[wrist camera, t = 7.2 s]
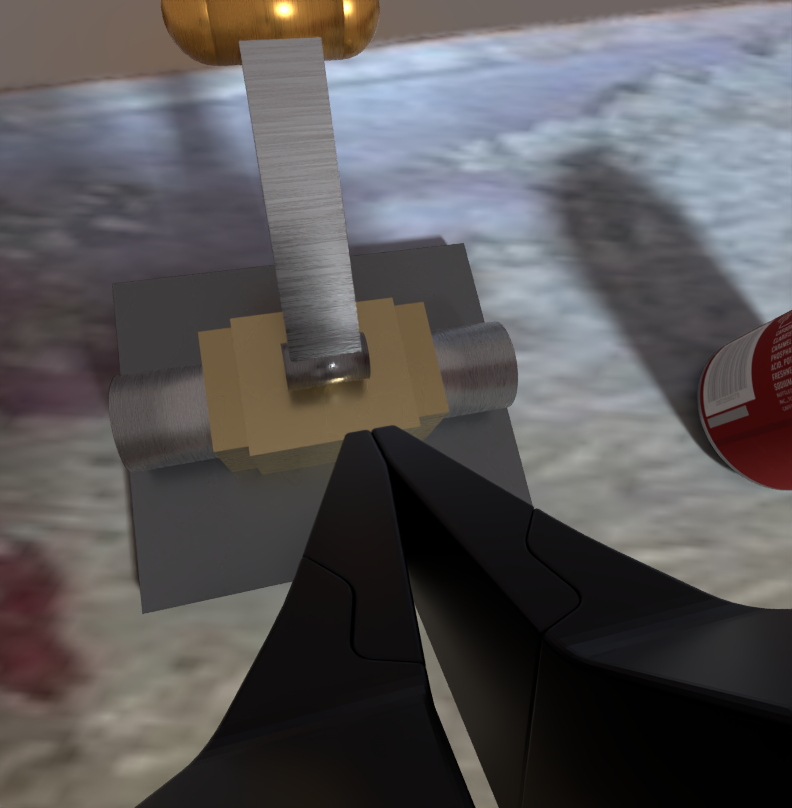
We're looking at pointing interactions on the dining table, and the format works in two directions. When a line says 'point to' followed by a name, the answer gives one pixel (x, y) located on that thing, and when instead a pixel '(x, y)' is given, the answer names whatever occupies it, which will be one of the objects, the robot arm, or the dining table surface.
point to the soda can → (752, 404)
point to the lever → (294, 159)
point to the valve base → (283, 509)
